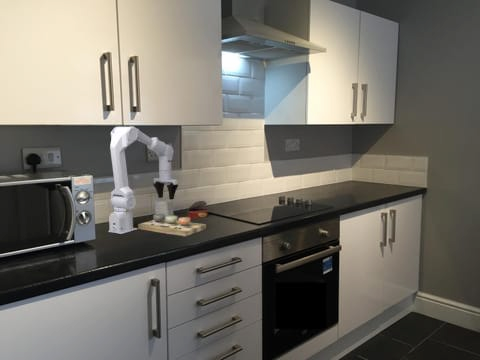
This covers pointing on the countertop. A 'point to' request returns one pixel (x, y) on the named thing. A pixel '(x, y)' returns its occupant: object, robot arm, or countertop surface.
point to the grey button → (159, 217)
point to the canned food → (197, 210)
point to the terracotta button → (184, 220)
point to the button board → (172, 227)
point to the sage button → (171, 219)
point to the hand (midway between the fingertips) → (166, 198)
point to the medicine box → (164, 207)
